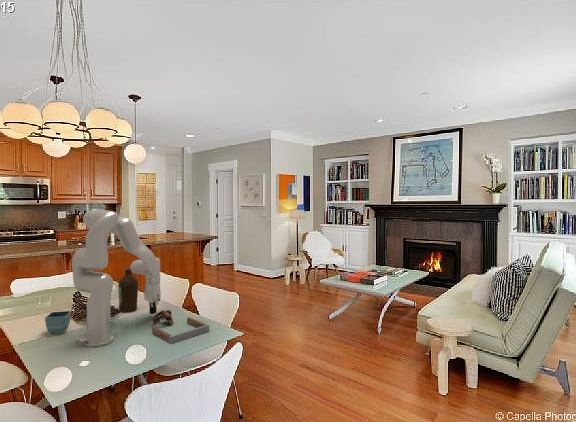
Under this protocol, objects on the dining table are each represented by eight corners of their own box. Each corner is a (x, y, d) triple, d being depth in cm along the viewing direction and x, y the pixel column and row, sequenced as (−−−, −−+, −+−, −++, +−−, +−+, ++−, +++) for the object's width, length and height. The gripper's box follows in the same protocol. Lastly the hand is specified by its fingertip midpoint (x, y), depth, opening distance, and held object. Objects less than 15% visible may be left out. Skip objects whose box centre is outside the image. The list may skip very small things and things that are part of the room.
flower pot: (44, 336, 162) (44, 317, 162) (51, 329, 171) (51, 311, 170) (65, 335, 164) (65, 316, 164) (71, 328, 173) (71, 310, 173)
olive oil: (137, 306, 210) (138, 265, 209) (138, 311, 200) (138, 269, 200) (118, 308, 205) (118, 266, 204) (118, 314, 196) (118, 270, 195)
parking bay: (170, 343, 157) (171, 337, 157) (151, 333, 169) (152, 327, 169) (209, 331, 173) (209, 325, 173) (189, 322, 185) (189, 317, 185)
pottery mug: (171, 329, 177) (162, 316, 175) (155, 335, 178) (147, 322, 176) (179, 315, 188) (171, 303, 186) (165, 321, 190) (157, 309, 188)
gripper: (139, 279, 192) (139, 311, 192) (153, 284, 182) (153, 318, 183) (152, 277, 197) (152, 308, 198) (166, 281, 187) (166, 315, 188)
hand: (152, 313), depth 190 cm, fingers closed
